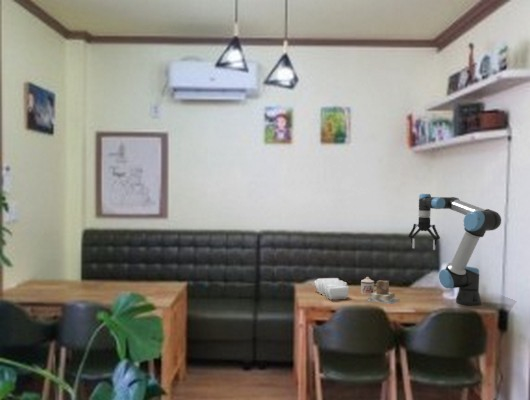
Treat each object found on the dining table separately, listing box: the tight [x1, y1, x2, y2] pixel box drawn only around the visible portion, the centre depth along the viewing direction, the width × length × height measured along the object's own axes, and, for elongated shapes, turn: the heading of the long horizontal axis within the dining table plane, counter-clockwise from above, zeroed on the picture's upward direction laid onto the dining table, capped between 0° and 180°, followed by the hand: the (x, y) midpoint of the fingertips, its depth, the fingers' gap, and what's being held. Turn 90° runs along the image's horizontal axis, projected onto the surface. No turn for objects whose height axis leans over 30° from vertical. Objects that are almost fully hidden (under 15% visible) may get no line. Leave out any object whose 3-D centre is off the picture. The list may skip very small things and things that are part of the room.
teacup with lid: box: [360, 276, 377, 296], centre depth 371 cm, size 12×9×12 cm
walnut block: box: [375, 279, 390, 295], centre depth 351 cm, size 6×6×8 cm
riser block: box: [369, 291, 396, 304], centre depth 351 cm, size 12×12×4 cm
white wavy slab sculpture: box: [314, 277, 350, 300], centre depth 363 cm, size 35×16×10 cm, turn 10°
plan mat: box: [364, 297, 400, 304], centre depth 351 cm, size 18×16×1 cm
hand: (423, 249), depth 366 cm, fingers open, 13 cm apart
